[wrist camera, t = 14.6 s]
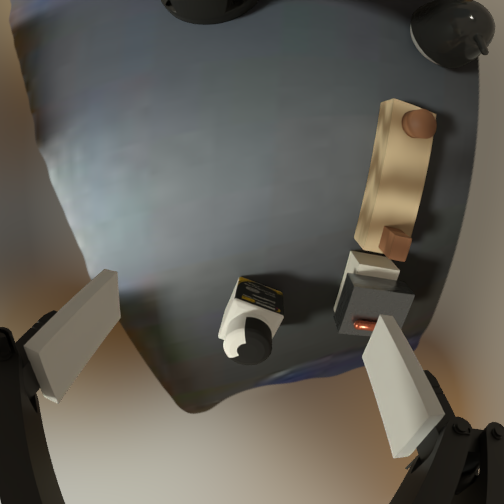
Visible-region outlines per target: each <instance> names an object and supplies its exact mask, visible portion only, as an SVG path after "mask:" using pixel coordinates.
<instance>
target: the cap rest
mask: <svg viewBox="0 0 504 504" xmlns="http://www.w3.org/2000/svg"><path fill="white" fill-rule="evenodd" d="M347 273H353V274H359V275H365V276H372V277H378V278H384V279H391V280H397V278H398V276H399V273H400V270H399V269H398V268H397V267H396V266H395V264H394V263H393V262H392V261H391V260H390V259H388V258H387V257H384V256H378V255H373V254H367V253H362V252H356V251H350V254H349V258H348V262H347V265H346V269H345V272H344V276H343V279H342V282H341V286H340V289H339V292H338V296H337V299H336V302H335V305H334V308H333V309H334V312H335V311H336V308H337V305H338V301H339V298H340V295H341V292H342V289H343V285H344V282H345V279H346V275H347Z"/></svg>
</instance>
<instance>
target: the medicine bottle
mask: <svg viewBox="0 0 504 504" xmlns="http://www.w3.org/2000/svg"><path fill="white" fill-rule="evenodd" d="M283 318H284V309H283V293H282V292H280V291H278V290H275V289H272V288H270V287H267V286H264V285H262V284H259V283H256V282H254V281H251V280H249V279H246V278H243V277H239V279H238V281H237V283H236V286H235V288H234V290H233V293H232V295H231V298H230V300H229V302H228V305H227V307H226V309H225V312H224V316H223V319H222V323H221V327H220V330H219V334H218V337H219V338H220V339H223V340H224V345H223V346H224V351H225V353H226V354H227V356H228V357H229V358H230V359H232V360H233V361H235V362H237V363H239V364H242V365H255V364H258V363H261V362H263V361H264V360H266V359H267V358H268V357H269V355H270V354H271V351H272V338H273V336H274V335H275V333H276V331H277V329H278V327H279V326H280V324H281V322H282V320H283Z"/></svg>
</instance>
